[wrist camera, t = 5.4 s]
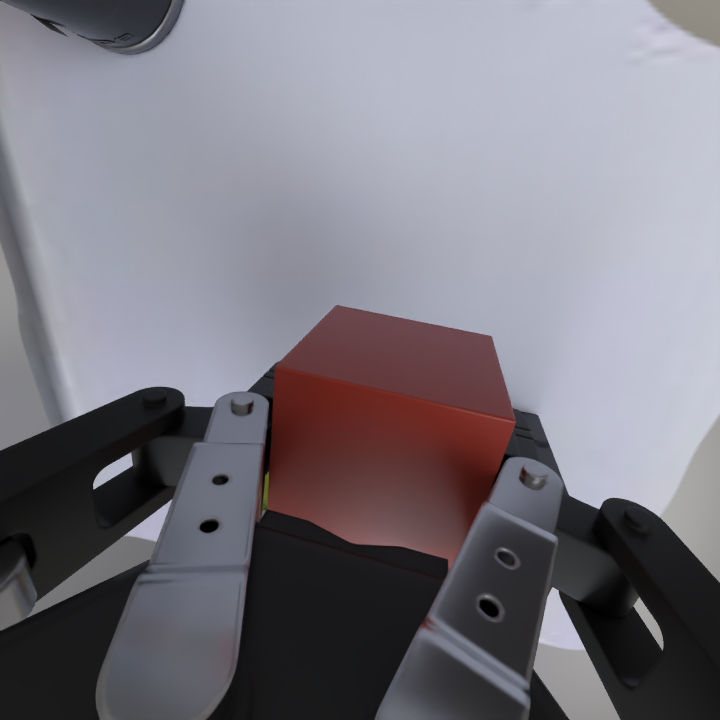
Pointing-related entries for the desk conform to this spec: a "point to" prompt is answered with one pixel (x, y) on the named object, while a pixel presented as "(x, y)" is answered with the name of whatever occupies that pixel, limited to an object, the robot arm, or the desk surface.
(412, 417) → the block
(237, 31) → the desk surface
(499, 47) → the desk surface
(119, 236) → the desk surface
